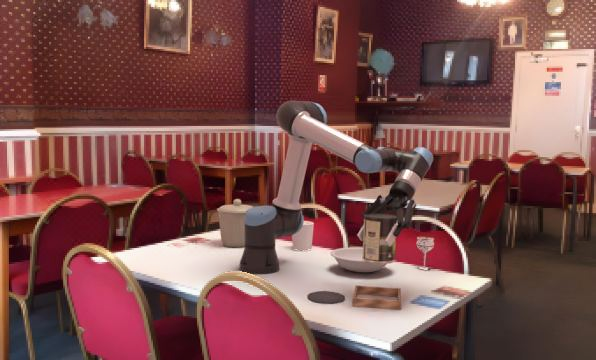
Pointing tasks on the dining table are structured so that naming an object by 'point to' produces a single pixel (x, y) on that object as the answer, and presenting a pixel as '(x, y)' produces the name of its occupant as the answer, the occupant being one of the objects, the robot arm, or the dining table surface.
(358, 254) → the soup bowl
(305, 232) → the candle holder
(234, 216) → the canister
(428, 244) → the wineglass
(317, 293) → the black coaster
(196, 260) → the dining table surface
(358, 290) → the oak caddy
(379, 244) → the coffee can
